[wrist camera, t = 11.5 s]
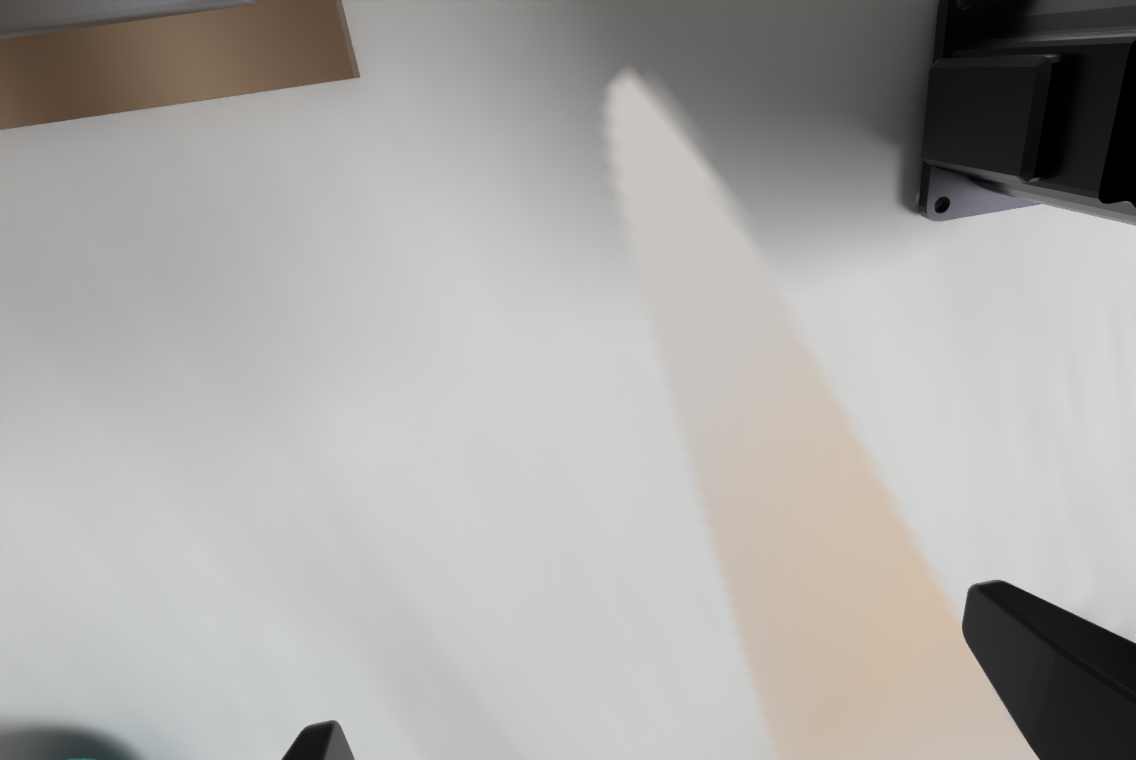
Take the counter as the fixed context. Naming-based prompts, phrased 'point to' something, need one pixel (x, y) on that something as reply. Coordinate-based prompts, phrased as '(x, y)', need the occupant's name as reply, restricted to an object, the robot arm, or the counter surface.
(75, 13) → the socket holder
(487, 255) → the counter surface
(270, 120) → the counter surface
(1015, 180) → the robot arm
